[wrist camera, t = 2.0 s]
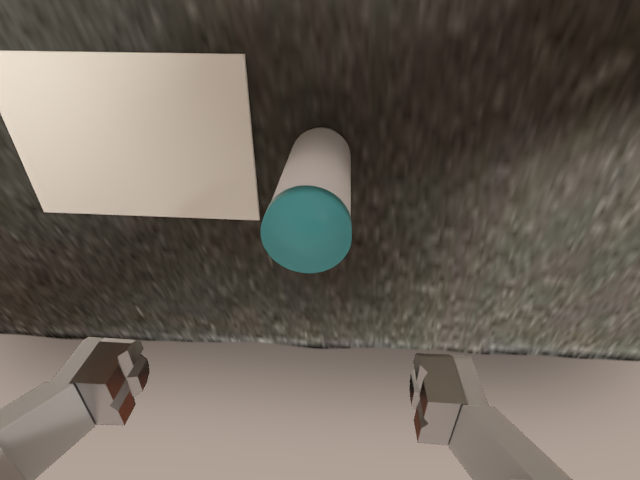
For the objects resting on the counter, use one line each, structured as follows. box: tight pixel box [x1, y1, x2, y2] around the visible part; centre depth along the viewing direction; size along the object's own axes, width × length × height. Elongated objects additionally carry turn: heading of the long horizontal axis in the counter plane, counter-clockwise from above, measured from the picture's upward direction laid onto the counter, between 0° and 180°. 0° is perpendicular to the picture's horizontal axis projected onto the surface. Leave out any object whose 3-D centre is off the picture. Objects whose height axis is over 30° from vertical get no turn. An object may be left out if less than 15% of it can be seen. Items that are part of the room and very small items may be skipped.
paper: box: [0, 50, 260, 220], centre depth 28 cm, size 18×12×1 cm, turn 89°
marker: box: [261, 127, 352, 273], centre depth 22 cm, size 4×4×12 cm
